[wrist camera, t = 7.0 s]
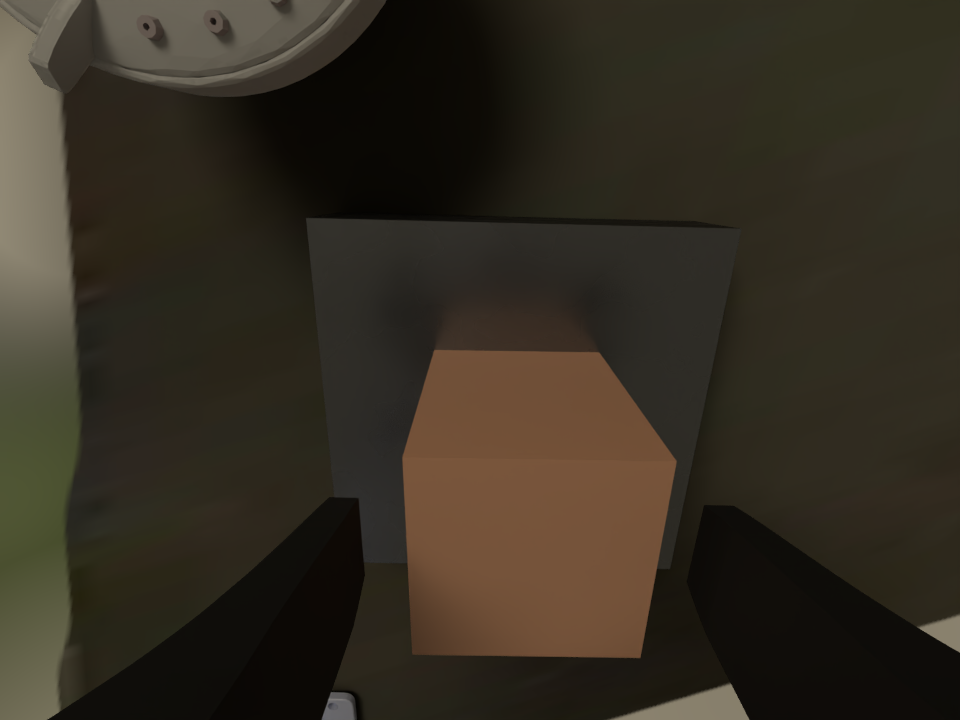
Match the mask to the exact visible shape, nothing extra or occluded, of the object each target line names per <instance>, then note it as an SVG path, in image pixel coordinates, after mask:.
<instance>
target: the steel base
mask: <svg viewBox="0 0 960 720" xmlns="http://www.w3.org/2000/svg"><path fill="white" fill-rule="evenodd" d="M306 223H307V233H308V242H309V252H310V262H311V272H312V282H313V292H314V301H315V311H316V321H317V331H318V341H319V351H320V360H321V370H322V380H323V390H324V400H325V410H326V419H327V429H328V439H329V449H330V459H331V468H332V478H333V488H334V497H343V498H359V509H360V521H361V534H362V547H363V559H364V562H373V563H408V559H407V539H406V519H405V500H404V480H403V460H402V457H403V453H404V450H405V447H406V443H407V440H408V437H409V433H410V430H411V427H412V423H413V420H414V416H415V413H416V410H417V406H418V403H419V400H420V396H421V393H422V390H423V386H424V383H425V380H426V376H427V373H428V369H429V366H430V363H431V359H432V356H433V353H434V350H471V351H540V352H599V353H600V354H601V356H602V357H603V358H604V360H605V361H606V363H607V364H608V365H609V367H610V368H611V370H612V371H613V372H614V374H615V375H616V377H617V378H618V379H619V381H620V382H621V384H622V385H623V386H624V388H625V389H626V391H627V392H628V394H629V395H630V396H631V398H632V399H633V401H634V402H635V403H636V405H637V406H638V408H639V409H640V410H641V412H642V413H643V415H644V416H645V417H646V419H647V420H648V422H649V423H650V424H651V426H652V427H653V429H654V430H655V431H656V433H657V434H658V436H659V437H660V439H661V440H662V441H663V443H664V444H665V446H666V447H667V448H668V450H669V451H670V453H671V454H672V455H673V457H674V458H675V460H676V461H677V462H676V468H675V473H674V479H673V484H672V489H671V495H670V500H669V506H668V511H667V516H666V522H665V527H664V533H663V538H662V543H661V549H660V554H659V560H658V565H657V569H670V566H671V562H672V557H673V552H674V547H675V543H676V538H677V533H678V528H679V524H680V519H681V514H682V509H683V505H684V500H685V495H686V490H687V486H688V481H689V476H690V471H691V466H692V462H693V457H694V452H695V447H696V443H697V438H698V433H699V428H700V424H701V419H702V414H703V409H704V405H705V400H706V395H707V390H708V386H709V381H710V376H711V371H712V367H713V362H714V357H715V352H716V348H717V343H718V338H719V333H720V329H721V324H722V319H723V314H724V310H725V305H726V300H727V295H728V291H729V286H730V281H731V276H732V272H733V267H734V262H735V257H736V253H737V248H738V243H739V238H740V233H741V229H740V228H734V227H727V226H721V225H715V224H708V223H702V222H696V221H658V220H617V219H577V218H536V217H495V216H455V215H414V214H373V213H333V214H327V215H321V216H315V217H309V218H306Z"/></svg>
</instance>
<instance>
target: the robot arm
mask: <svg viewBox="0 0 960 720" xmlns="http://www.w3.org/2000/svg"><path fill="white" fill-rule="evenodd" d="M364 576H365V572H364V559H363V547H362V534H361V521H360V509H359V498H343V497H329V498H328V499H327V500H326V501H325V502H324V503H323V504H321V505H320V506H319V507H318V508H317V509H316V510H315V511H314V512H313V513H312V514H311V515H310V516H309V517H308V518H307V519H306V520H305V521H304V522H303V523H302V524H301V525H299V526H298V527H297V528H296V529H295V530H294V531H293V532H292V533H291V534H290V535H289V536H288V537H287V538H286V539H285V540H284V541H283V542H282V543H281V544H280V545H278V546H277V547H276V548H275V549H274V550H273V551H272V552H271V553H270V554H269V555H268V556H266V557H265V558H264V559H263V560H262V561H261V562H260V563H259V564H258V565H257V566H256V567H254V568H253V569H252V570H251V571H250V572H249V573H248V574H247V575H246V576H244V577H243V578H242V579H241V580H240V581H239V582H237V583H236V584H235V585H234V586H233V587H231V588H230V589H229V590H228V591H227V592H225V593H224V594H223V595H222V596H221V597H220V598H218V599H217V600H216V601H215V602H214V603H212V604H211V605H210V606H209V607H208V608H207V609H205V610H204V611H203V612H202V613H200V614H199V615H198V616H197V617H195V618H194V619H193V620H191V621H190V622H189V623H187V624H186V625H185V626H184V627H182V628H181V629H180V630H178V631H177V632H176V633H174V634H173V635H172V636H170V637H169V638H167V639H166V640H165V641H163V642H162V643H161V644H159V645H158V646H157V647H155V648H154V649H152V650H151V651H150V652H148V653H147V654H146V655H144V656H143V657H141V658H140V659H139V660H137V661H136V662H134V663H133V664H131V665H130V666H129V667H127V668H126V669H124V670H123V671H121V672H120V673H118V674H116V675H115V676H113V677H112V678H110V679H109V680H107V681H106V682H104V683H103V684H101V685H100V686H98V687H97V688H95V689H94V690H92V691H91V692H89V693H88V694H86V695H85V696H83V697H82V698H80V699H79V700H77V701H76V702H74V703H72V704H71V705H69V706H68V707H66V708H65V709H63V710H62V711H60V712H59V713H57V714H56V715H54V716H53V717H51V718H49V719H48V720H357V715H356V705H355V699H354V697H353V696H352V695H351V694H349V693H346V692H331V691H332V688H333V685H334V682H335V679H336V676H337V673H338V670H339V668H340V665H341V662H342V659H343V656H344V653H345V650H346V647H347V644H348V641H349V638H350V635H351V632H352V629H353V626H354V622H355V617H356V613H357V609H358V604H359V600H360V595H361V590H362V586H363V581H364ZM687 583H688V586H689V589H690V592H691V595H692V598H693V601H694V603H695V606H696V609H697V612H698V614H699V617H700V620H701V622H702V625H703V627H704V630H705V632H706V634H707V637H708V639H709V641H710V643H711V645H712V647H713V649H714V651H715V653H716V655H717V657H718V659H719V661H720V663H721V665H722V667H723V669H724V671H725V673H726V675H727V677H728V679H729V680H730V682H731V684H732V686H733V688H734V690H735V692H736V694H737V696H738V698H739V700H740V702H741V704H742V706H743V708H744V710H745V712H746V714H747V716H748V717H749V720H960V653H959V652H958V651H956V650H954V649H952V648H950V647H949V646H947V645H946V644H944V643H942V642H940V641H939V640H937V639H935V638H934V637H932V636H930V635H929V634H927V633H925V632H924V631H922V630H921V629H919V628H917V627H916V626H914V625H913V624H911V623H909V622H908V621H906V620H905V619H903V618H901V617H900V616H898V615H897V614H895V613H893V612H892V611H890V610H889V609H887V608H886V607H884V606H882V605H881V604H879V603H878V602H876V601H874V600H873V599H871V598H870V597H868V596H867V595H865V594H864V593H862V592H861V591H859V590H858V589H856V588H855V587H853V586H852V585H850V584H849V583H847V582H846V581H844V580H843V579H841V578H840V577H838V576H837V575H835V574H834V573H832V572H831V571H829V570H828V569H826V568H825V567H823V566H822V565H821V564H819V563H818V562H816V561H815V560H813V559H812V558H810V557H809V556H807V555H806V554H805V553H803V552H802V551H800V550H799V549H797V548H796V547H794V546H793V545H792V544H790V543H789V542H787V541H786V540H784V539H783V538H781V537H780V536H779V535H777V534H776V533H774V532H773V531H771V530H770V529H768V528H767V527H766V526H764V525H763V524H761V523H760V522H758V521H757V520H755V519H754V518H752V517H751V516H749V515H748V514H746V513H744V512H743V511H741V510H739V509H738V508H736V507H735V506H716V505H704V508H703V513H702V517H701V522H700V526H699V531H698V535H697V539H696V544H695V548H694V553H693V557H692V561H691V566H690V570H689V575H688V579H687Z"/></svg>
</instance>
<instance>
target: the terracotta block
mask: <svg viewBox="0 0 960 720" xmlns="http://www.w3.org/2000/svg"><path fill="white" fill-rule="evenodd" d="M402 460H403V480H404V500H405V519H406V539H407V559H408V578H409V598H410V618H411V637H412V655H474V656H543V657H612V658H640V657H641V651H642V646H643V640H644V635H645V630H646V624H647V619H648V613H649V608H650V603H651V597H652V592H653V586H654V581H655V576H656V570H657V565H658V560H659V554H660V549H661V543H662V538H663V533H664V527H665V522H666V516H667V511H668V506H669V500H670V495H671V489H672V484H673V479H674V473H675V468H676V462H677V461H676V460H675V458H674V457H673V455H672V454H671V453H670V451H669V450H668V448H667V447H666V446H665V444H664V443H663V441H662V440H661V439H660V437H659V436H658V434H657V433H656V431H655V430H654V429H653V427H652V426H651V424H650V423H649V422H648V420H647V419H646V417H645V416H644V415H643V413H642V412H641V410H640V409H639V408H638V406H637V405H636V403H635V402H634V401H633V399H632V398H631V396H630V395H629V394H628V392H627V391H626V389H625V388H624V386H623V385H622V384H621V382H620V381H619V379H618V378H617V377H616V375H615V374H614V372H613V371H612V370H611V368H610V367H609V365H608V364H607V363H606V361H605V360H604V358H603V357H602V356H601V354H600V353H599V352H540V351H471V350H434V353H433V356H432V359H431V363H430V366H429V369H428V373H427V376H426V380H425V383H424V386H423V390H422V393H421V396H420V400H419V403H418V406H417V410H416V413H415V416H414V420H413V423H412V427H411V430H410V433H409V437H408V440H407V443H406V447H405V450H404V453H403V457H402Z"/></svg>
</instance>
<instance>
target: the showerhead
mask: <svg viewBox="0 0 960 720" xmlns="http://www.w3.org/2000/svg"><path fill="white" fill-rule="evenodd" d="M385 2H386V0H0V7H2V8H3V9H4V10H5V11H6V12H8V13H9V14H10V15H11V16H12V17H14V18H15V19H16V20H17V21H19V22H20V23H21V24H23V25H24V26H26V27H27V28H28V29H30V30H31V31H32V32H34V33H35V34H37V36H36V38H35V40H34V43H33V45H32V48H31V50H30V53H29V62H30V63H31V65H32V66H33V68H34V69H35V70H36V72H37V74H38V75H39V77H40V78H41V80H42V81H43V83H44V84H45V85H47V86H49V87H51V88H54V89H56V90H58V91H60V92H63V93H68V92H69V91H70V90H71V89H72V88H73V87H74V86H75V84H76V83H77V82H78V80H79V79H80V78H81V76H82V75H83V73H84V72H85V71H86V69H87V68H88V66H89V65H91V66H94V67H97V68H99V69H102V70H104V71H107V72H109V73H112V74H114V75H117V76H121V77H124V78H128V79H131V80H135V81H138V82H142V83H146V84H151V85H155V86H159V87H164V88H168V89H172V90H176V91H181V92H185V93H190V94H195V95H200V96H213V97H236V96H247V95H254V94H260V93H265V92H269V91H272V90H276V89H279V88H283V87H285V86H288V85H290V84H293V83H295V82H297V81H300V80H302V79H304V78H306V77H307V76H309V75H311V74H313V73H314V72H316V71H318V70H320V69H321V68H323V67H324V66H326V65H327V64H328V63H330V62H331V61H333V60H334V59H336V58H337V57H338V56H339V55H341V54H342V53H343V52H344V51H345V50H346V49H347V48H348V47H349V46H350V45H352V44H353V43H354V42H355V41H356V40H357V39H358V37H359V36H360V35H361V34H362V33H363V32H364V31H365V30H366V28H367V27H368V26H369V25H370V24H371V22H372V21H373V20H374V18H375V17H376V15H377V14H378V13H379V11H380V10H381V8H382V7H383V6H384V4H385Z"/></svg>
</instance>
